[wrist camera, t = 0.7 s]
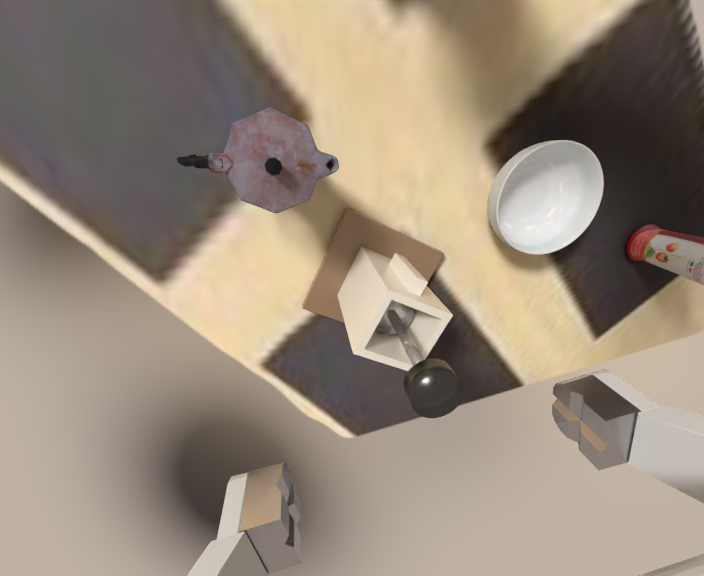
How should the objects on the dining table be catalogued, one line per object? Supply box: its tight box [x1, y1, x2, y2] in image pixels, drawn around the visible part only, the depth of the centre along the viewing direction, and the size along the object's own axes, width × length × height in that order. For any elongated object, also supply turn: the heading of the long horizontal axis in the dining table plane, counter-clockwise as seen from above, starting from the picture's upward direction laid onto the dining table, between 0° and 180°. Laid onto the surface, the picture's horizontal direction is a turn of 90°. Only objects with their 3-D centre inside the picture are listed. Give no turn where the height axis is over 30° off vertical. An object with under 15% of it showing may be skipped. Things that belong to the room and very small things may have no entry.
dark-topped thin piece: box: [375, 300, 464, 418], centre depth 38 cm, size 6×6×17 cm
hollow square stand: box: [302, 208, 453, 371], centre depth 49 cm, size 18×18×18 cm
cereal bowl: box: [488, 140, 604, 255], centre depth 52 cm, size 17×17×7 cm
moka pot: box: [177, 108, 339, 213], centre depth 38 cm, size 10×15×20 cm, turn 93°
